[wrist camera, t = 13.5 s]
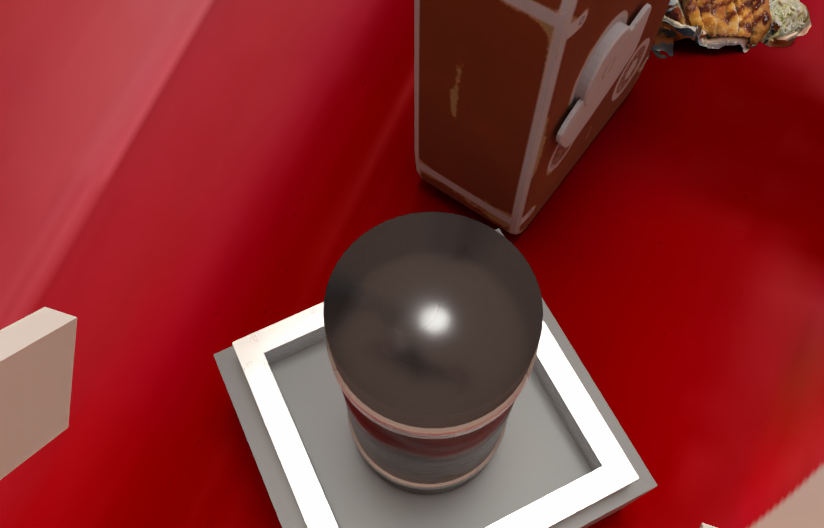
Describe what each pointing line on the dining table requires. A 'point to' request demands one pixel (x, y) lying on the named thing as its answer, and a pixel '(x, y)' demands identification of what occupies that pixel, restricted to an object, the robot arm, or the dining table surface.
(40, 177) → the dining table surface
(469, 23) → the cine camera
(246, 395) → the square shallow tray
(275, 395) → the square picture frame
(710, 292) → the dining table surface
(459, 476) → the lens
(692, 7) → the pastry
